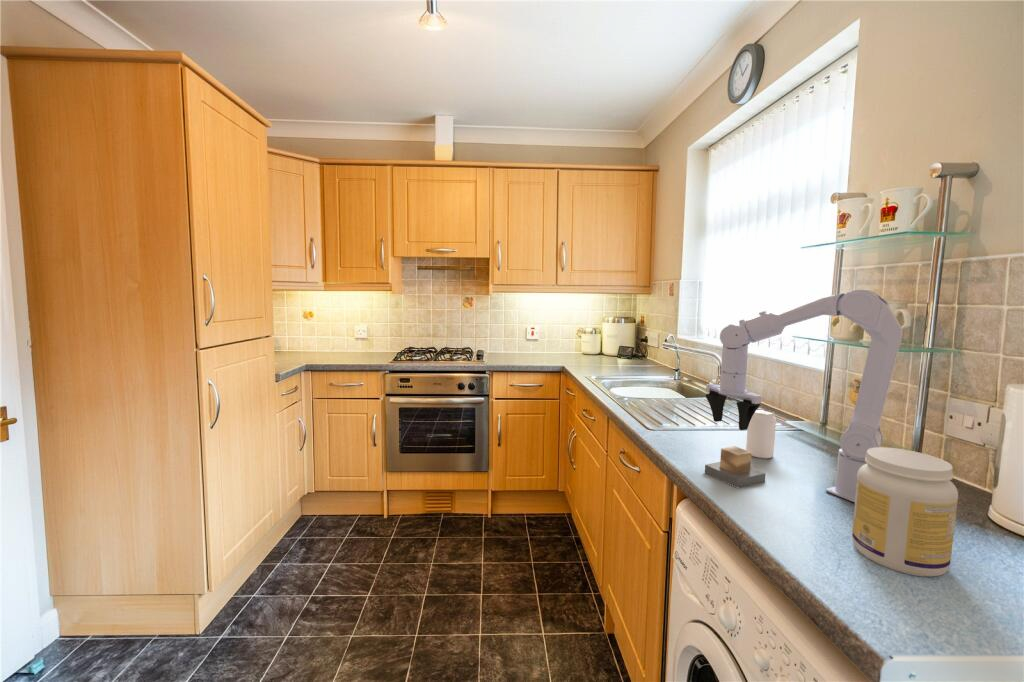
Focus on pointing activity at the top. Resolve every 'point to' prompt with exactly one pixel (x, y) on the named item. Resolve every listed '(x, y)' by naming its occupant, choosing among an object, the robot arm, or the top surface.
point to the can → (761, 434)
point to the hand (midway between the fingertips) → (730, 425)
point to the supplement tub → (905, 511)
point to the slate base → (735, 475)
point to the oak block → (735, 459)
